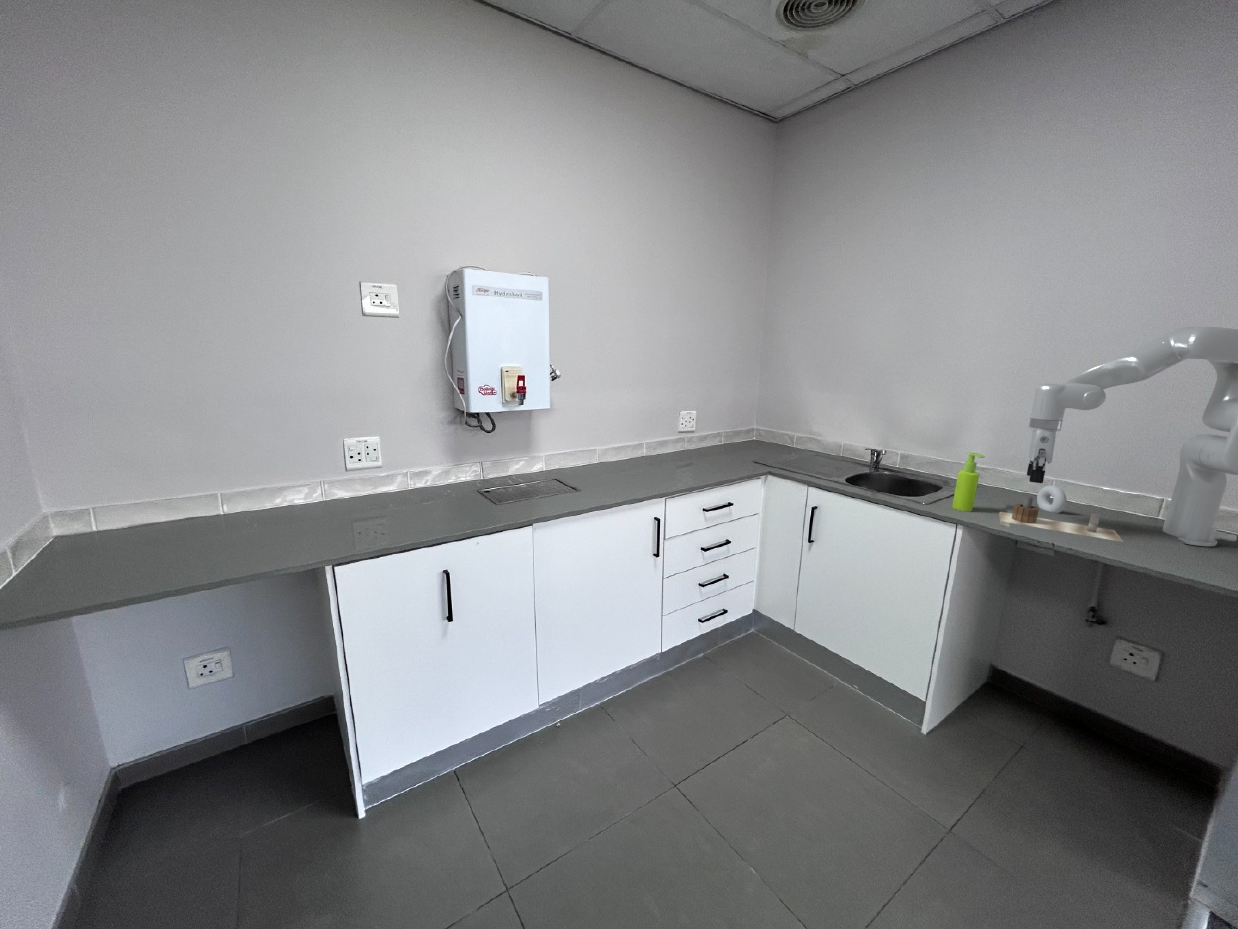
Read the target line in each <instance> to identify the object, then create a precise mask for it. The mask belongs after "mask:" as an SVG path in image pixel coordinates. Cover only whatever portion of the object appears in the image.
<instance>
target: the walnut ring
mask: <svg viewBox="0 0 1238 929" xmlns="http://www.w3.org/2000/svg"><path fill="white" fill-rule="evenodd" d="M1023 504H1024V503H1014V505H1013V511H1012V513H1011V514H1012V519H1013V520H1016V521H1019V522H1024V523H1036V520H1037V518H1038V516H1039V515H1038V514H1039V511H1040V508H1039V506H1038V507H1037V506H1035V505H1033V504H1032V505H1031V508H1024V507H1023Z"/></svg>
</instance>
